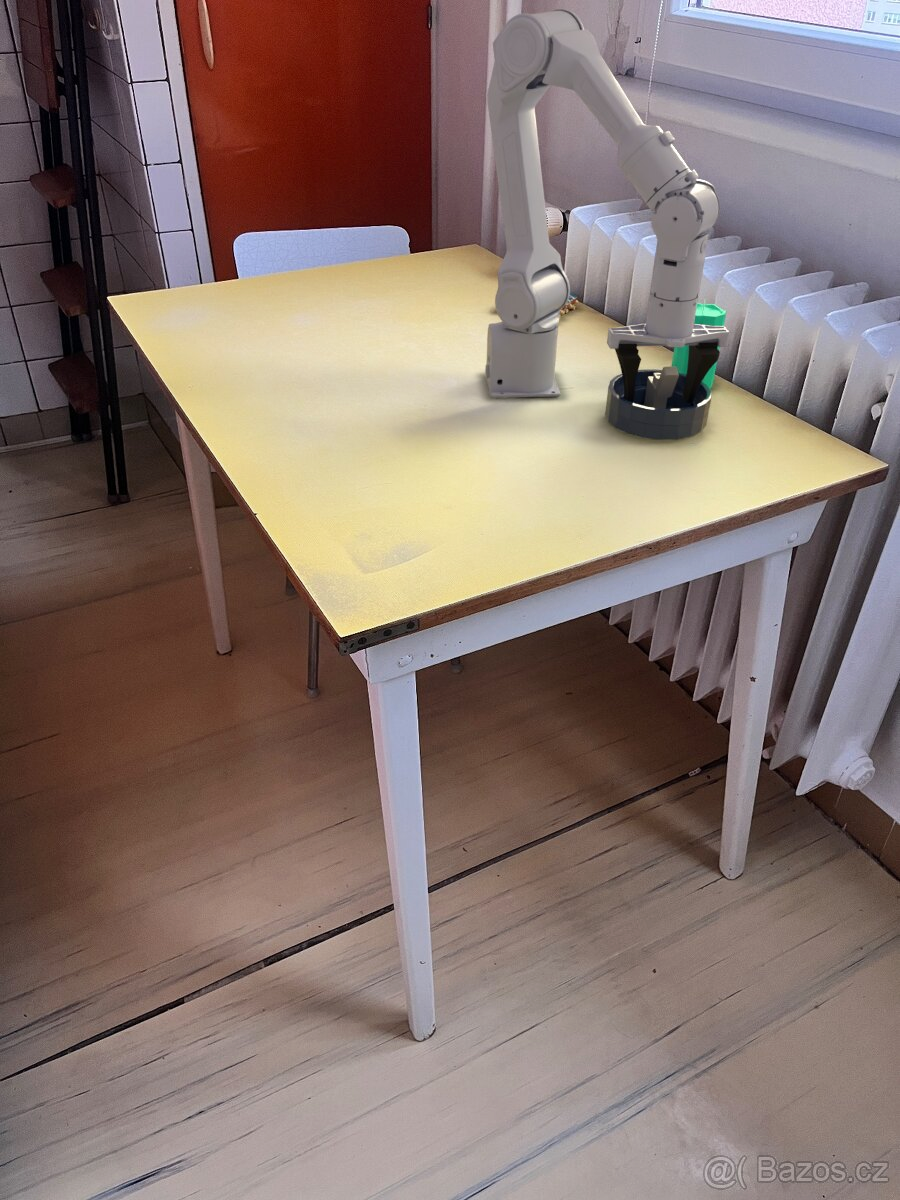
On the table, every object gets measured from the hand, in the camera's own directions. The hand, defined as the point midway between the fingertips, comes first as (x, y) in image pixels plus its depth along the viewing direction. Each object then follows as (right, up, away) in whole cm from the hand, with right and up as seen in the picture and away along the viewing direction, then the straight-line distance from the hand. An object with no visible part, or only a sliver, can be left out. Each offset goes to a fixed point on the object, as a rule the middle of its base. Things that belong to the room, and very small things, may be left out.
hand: (658, 400), depth 119 cm
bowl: (0, -2, +2) cm, 3 cm away
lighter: (0, -2, +1) cm, 3 cm away
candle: (+7, +5, +12) cm, 15 cm away
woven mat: (-12, +23, +36) cm, 44 cm away
